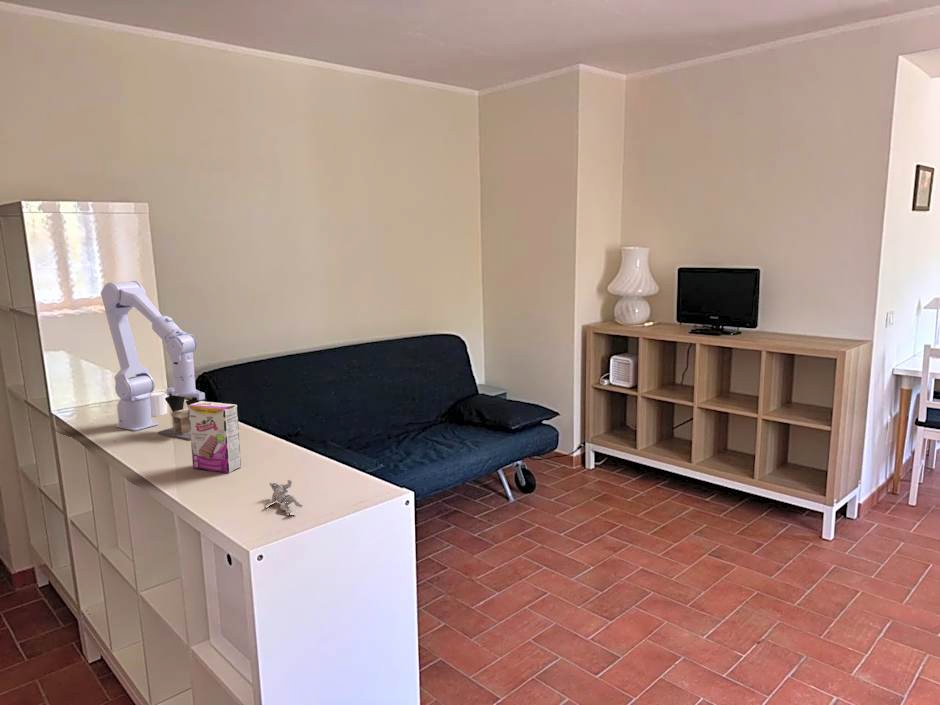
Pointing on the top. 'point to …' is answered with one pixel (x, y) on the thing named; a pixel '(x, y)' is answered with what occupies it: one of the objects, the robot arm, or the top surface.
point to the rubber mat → (175, 434)
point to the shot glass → (158, 403)
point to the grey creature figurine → (283, 495)
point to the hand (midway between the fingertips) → (187, 421)
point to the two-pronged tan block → (181, 421)
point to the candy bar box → (214, 436)
